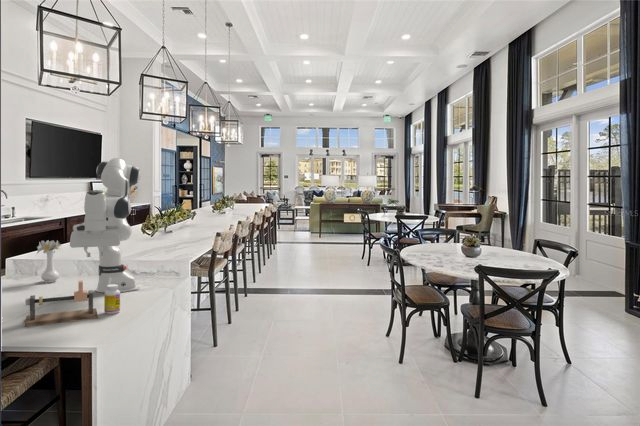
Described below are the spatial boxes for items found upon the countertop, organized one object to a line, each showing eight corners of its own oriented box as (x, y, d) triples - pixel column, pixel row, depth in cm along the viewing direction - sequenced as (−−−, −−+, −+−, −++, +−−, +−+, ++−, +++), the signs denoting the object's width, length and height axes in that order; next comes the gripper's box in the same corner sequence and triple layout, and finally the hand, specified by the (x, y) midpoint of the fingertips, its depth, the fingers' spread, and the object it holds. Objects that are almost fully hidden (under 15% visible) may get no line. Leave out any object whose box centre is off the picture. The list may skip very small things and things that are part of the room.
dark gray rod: (90, 298, 195) (90, 291, 195) (90, 300, 192) (90, 293, 192) (26, 305, 182) (26, 296, 182) (25, 307, 179) (25, 299, 179)
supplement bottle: (116, 314, 196) (116, 287, 196) (101, 314, 196) (101, 287, 195) (122, 310, 203) (122, 283, 202) (108, 310, 203) (108, 283, 202)
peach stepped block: (86, 298, 195) (86, 279, 194) (87, 300, 191) (87, 281, 190) (74, 299, 192) (74, 280, 191) (74, 302, 188) (74, 282, 188)
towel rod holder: (96, 311, 200) (96, 288, 199) (97, 318, 191) (97, 293, 190) (26, 319, 186) (26, 294, 185) (24, 326, 177) (24, 300, 176)
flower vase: (59, 277, 265) (58, 237, 263) (64, 283, 251) (64, 241, 249) (34, 279, 257) (33, 238, 255) (38, 286, 243) (38, 242, 241)
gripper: (119, 225, 200) (119, 254, 201) (69, 225, 190) (69, 256, 191) (121, 226, 195) (121, 256, 196) (69, 227, 184) (69, 258, 185)
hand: (95, 256), depth 193 cm, fingers open, 4 cm apart
